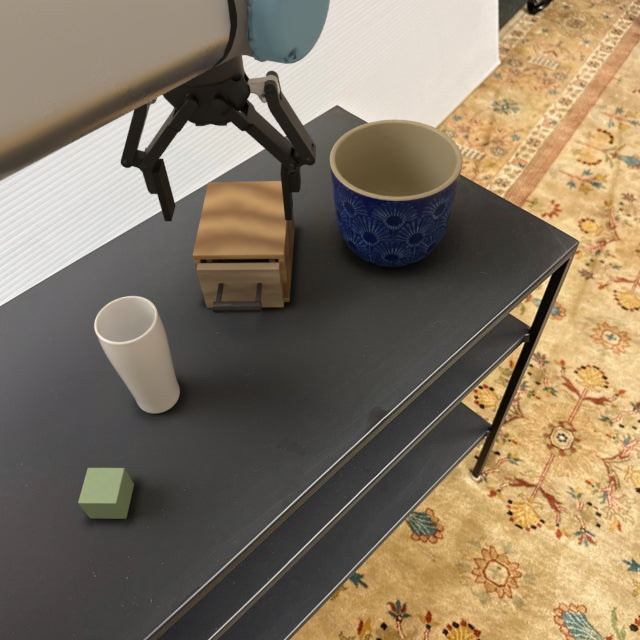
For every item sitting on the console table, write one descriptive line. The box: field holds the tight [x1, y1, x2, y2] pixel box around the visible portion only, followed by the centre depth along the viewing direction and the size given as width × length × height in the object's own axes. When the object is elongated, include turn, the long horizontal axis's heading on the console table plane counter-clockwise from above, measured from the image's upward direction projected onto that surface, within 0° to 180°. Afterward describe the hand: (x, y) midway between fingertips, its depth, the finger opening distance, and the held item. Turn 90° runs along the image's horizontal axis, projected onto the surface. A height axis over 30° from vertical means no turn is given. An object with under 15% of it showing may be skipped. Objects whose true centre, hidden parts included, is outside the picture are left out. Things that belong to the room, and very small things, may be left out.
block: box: [78, 467, 135, 520], centre depth 69 cm, size 4×4×4 cm
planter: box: [329, 119, 464, 268], centre depth 89 cm, size 17×17×15 cm
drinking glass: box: [93, 295, 181, 415], centre depth 73 cm, size 7×7×15 cm
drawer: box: [196, 259, 285, 314], centre depth 86 cm, size 18×10×7 cm, turn 179°
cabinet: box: [192, 180, 296, 303], centre depth 89 cm, size 15×12×9 cm
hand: (229, 213), depth 73 cm, fingers open, 13 cm apart
